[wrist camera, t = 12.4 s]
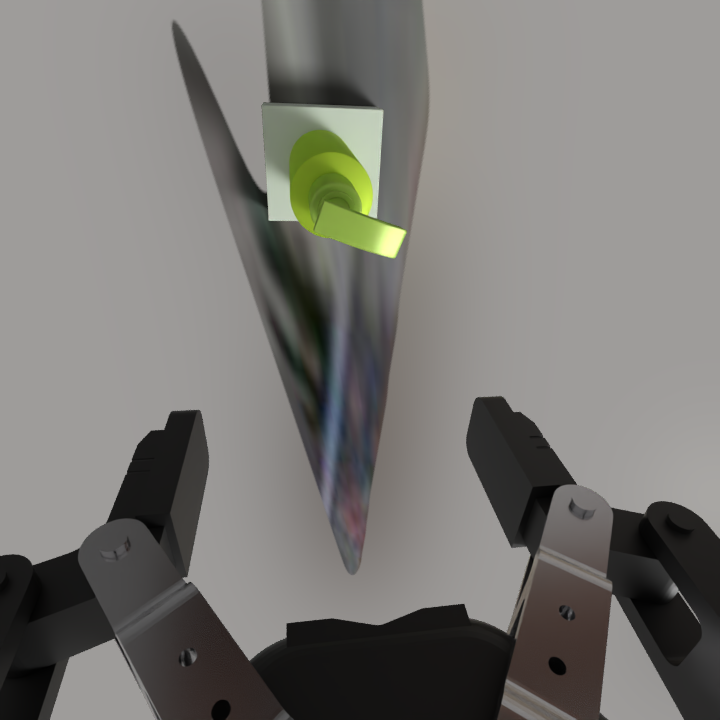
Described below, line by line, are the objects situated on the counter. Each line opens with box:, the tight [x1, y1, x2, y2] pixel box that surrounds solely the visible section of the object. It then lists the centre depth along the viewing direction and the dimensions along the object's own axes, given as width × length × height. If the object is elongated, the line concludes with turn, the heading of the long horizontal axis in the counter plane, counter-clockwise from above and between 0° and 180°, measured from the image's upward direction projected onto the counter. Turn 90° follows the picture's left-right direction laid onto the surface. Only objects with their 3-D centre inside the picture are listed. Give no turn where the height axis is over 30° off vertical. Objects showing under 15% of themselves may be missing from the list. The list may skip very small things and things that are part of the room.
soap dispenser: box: [289, 130, 407, 258], centre depth 35 cm, size 6×7×20 cm
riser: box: [262, 102, 383, 221], centre depth 45 cm, size 10×11×4 cm
